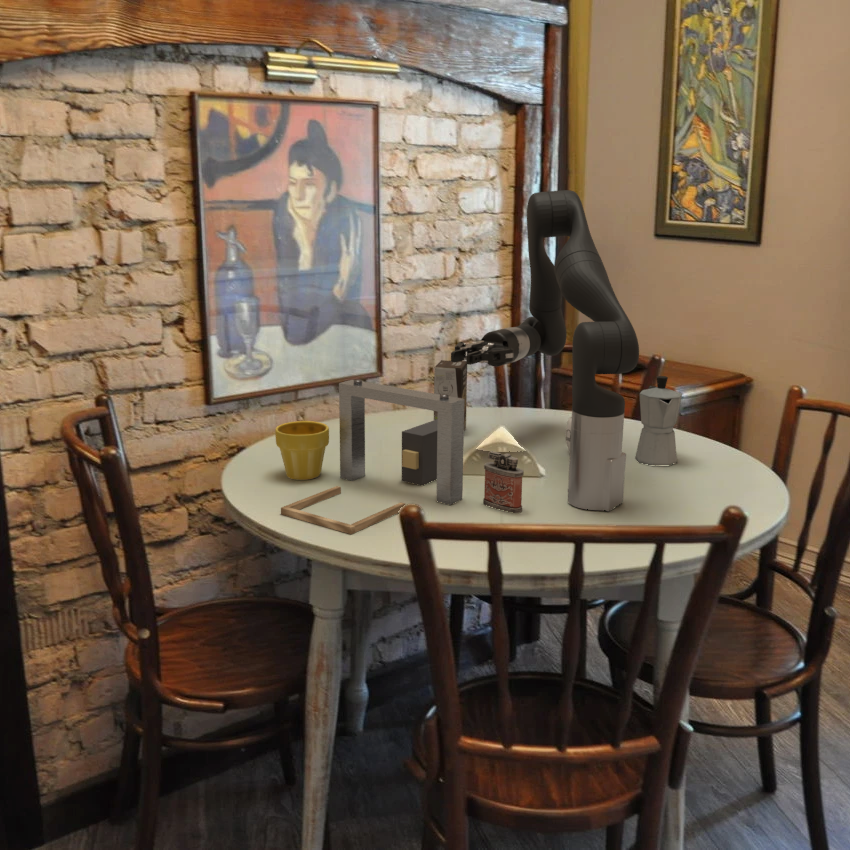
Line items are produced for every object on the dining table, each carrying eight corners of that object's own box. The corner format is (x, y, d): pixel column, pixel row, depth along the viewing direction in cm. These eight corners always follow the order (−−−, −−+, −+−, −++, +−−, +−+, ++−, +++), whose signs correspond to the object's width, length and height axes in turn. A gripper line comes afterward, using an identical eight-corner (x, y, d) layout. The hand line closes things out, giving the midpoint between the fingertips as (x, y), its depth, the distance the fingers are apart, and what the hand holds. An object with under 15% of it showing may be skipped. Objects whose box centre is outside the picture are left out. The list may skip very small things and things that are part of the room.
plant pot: (290, 486, 186) (289, 437, 184) (268, 472, 195) (266, 425, 192) (339, 477, 192) (338, 429, 189) (314, 464, 200) (313, 418, 198)
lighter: (526, 510, 175) (528, 456, 172) (514, 514, 173) (516, 460, 170) (490, 499, 180) (492, 447, 178) (479, 504, 178) (480, 451, 175)
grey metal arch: (462, 499, 180) (464, 395, 175) (450, 505, 177) (451, 399, 172) (353, 473, 195) (352, 376, 190) (340, 478, 192) (338, 380, 187)
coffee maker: (684, 469, 199) (692, 383, 194) (641, 469, 199) (647, 383, 194) (666, 449, 213) (673, 368, 209) (626, 448, 213) (631, 367, 209)
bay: (405, 509, 174) (405, 503, 174) (351, 534, 163) (351, 527, 162) (336, 492, 183) (336, 485, 183) (280, 514, 172) (280, 507, 171)
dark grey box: (457, 471, 197) (458, 422, 194) (419, 487, 187) (419, 436, 184) (437, 466, 200) (437, 419, 197) (398, 482, 190) (398, 432, 187)
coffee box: (460, 438, 220) (462, 368, 216) (432, 436, 221) (433, 366, 217) (467, 428, 229) (468, 360, 224) (440, 426, 230) (440, 358, 226)
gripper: (477, 325, 212) (431, 336, 199) (534, 332, 205) (490, 343, 191) (477, 359, 214) (431, 372, 201) (533, 367, 206) (489, 381, 193)
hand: (460, 358), depth 196 cm, fingers open, 3 cm apart
